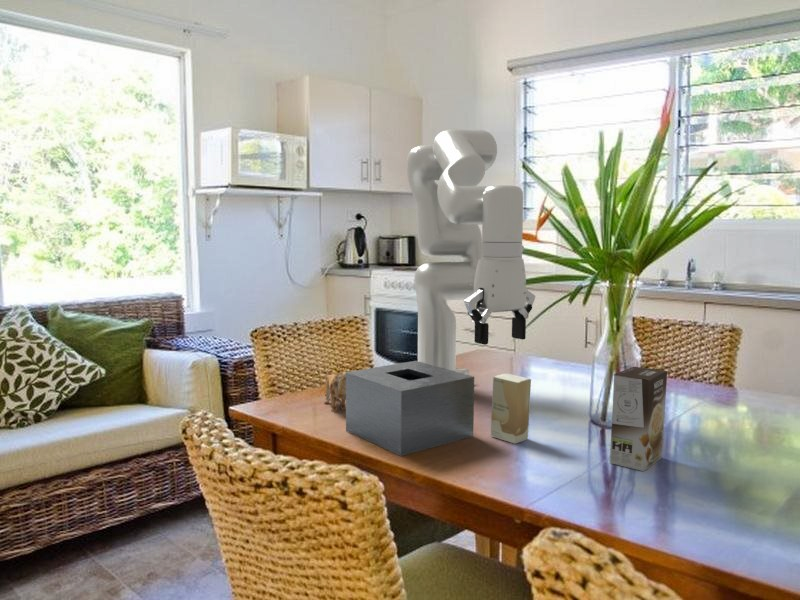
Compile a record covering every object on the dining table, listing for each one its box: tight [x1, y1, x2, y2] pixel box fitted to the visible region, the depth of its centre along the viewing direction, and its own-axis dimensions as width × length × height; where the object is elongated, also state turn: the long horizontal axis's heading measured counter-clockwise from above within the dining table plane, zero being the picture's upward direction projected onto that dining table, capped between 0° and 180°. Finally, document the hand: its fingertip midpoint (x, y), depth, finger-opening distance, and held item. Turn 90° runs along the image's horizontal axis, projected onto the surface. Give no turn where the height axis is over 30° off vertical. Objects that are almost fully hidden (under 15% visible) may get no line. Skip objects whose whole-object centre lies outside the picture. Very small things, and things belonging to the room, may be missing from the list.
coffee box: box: [609, 366, 668, 472], centre depth 118 cm, size 9×6×16 cm
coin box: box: [345, 360, 475, 457], centre depth 133 cm, size 18×18×12 cm
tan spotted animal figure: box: [323, 371, 347, 412], centre depth 152 cm, size 15×5×9 cm, turn 27°
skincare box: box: [490, 373, 532, 445], centre depth 130 cm, size 6×4×12 cm
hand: (500, 340), depth 129 cm, fingers open, 9 cm apart
